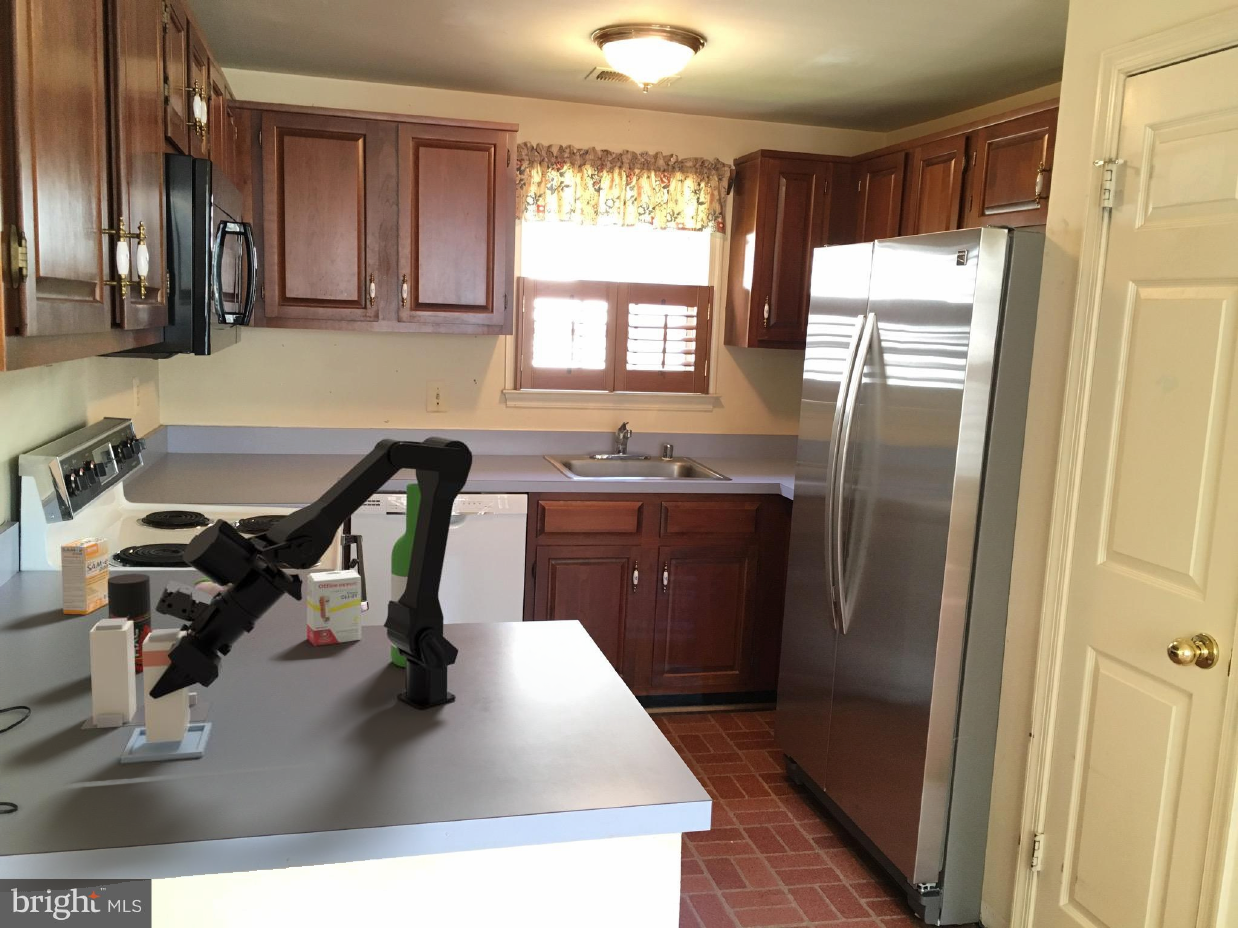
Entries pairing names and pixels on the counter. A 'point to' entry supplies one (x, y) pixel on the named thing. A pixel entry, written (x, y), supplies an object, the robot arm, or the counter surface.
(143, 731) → the tray
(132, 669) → the block
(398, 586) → the wine bottle
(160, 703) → the block
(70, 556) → the supplement box
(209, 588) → the decorative fruit
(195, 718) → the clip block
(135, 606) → the deodorant
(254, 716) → the counter surface
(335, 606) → the ink box
